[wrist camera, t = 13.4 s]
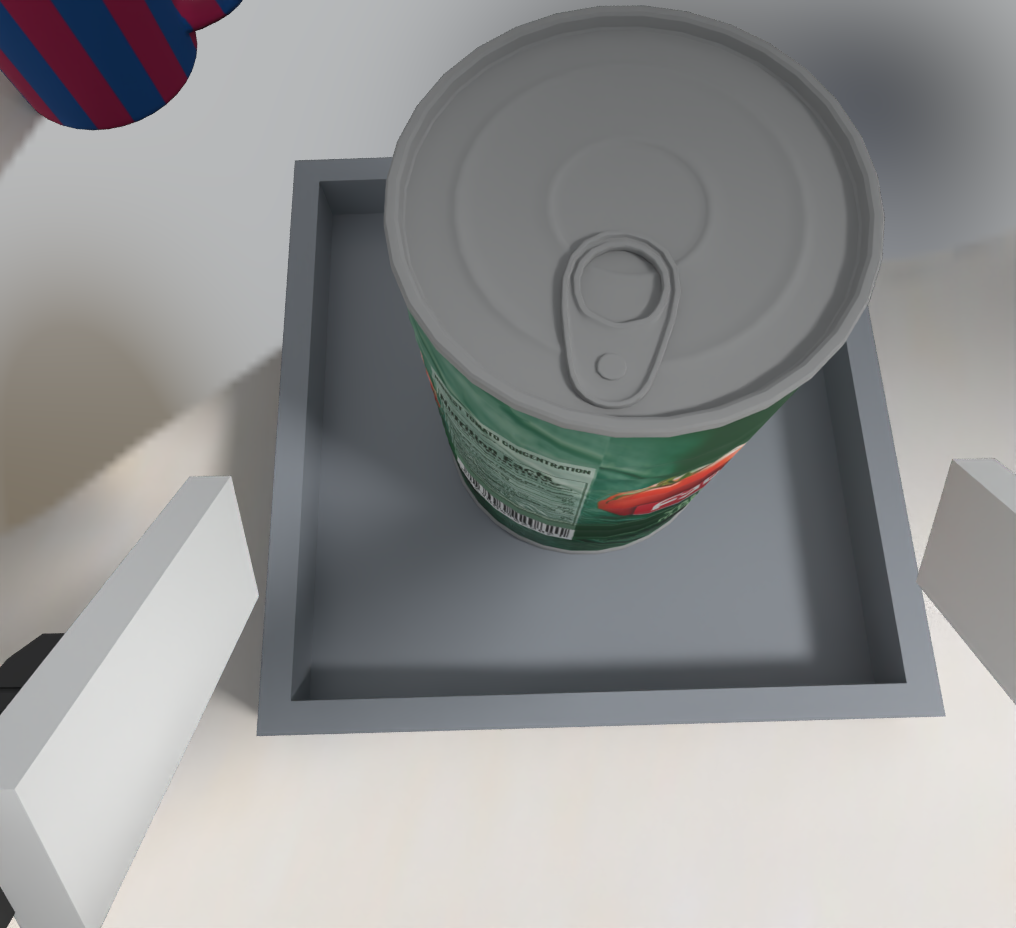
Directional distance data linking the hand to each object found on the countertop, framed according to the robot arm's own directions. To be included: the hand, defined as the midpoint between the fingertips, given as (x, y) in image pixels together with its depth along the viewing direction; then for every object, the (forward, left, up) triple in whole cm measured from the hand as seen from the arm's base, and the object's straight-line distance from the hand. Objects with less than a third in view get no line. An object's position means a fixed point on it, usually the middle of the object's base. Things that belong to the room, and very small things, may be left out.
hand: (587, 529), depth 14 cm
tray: (-1, -5, -8) cm, 9 cm away
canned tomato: (-1, -5, -8) cm, 9 cm away
